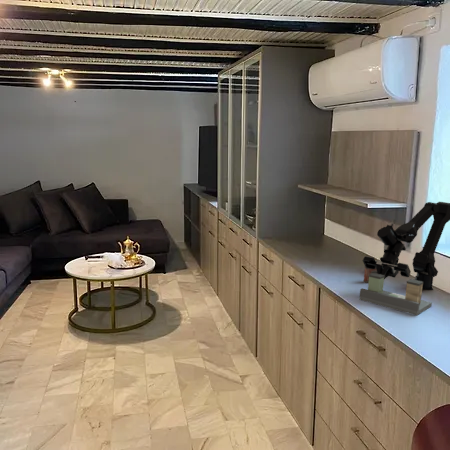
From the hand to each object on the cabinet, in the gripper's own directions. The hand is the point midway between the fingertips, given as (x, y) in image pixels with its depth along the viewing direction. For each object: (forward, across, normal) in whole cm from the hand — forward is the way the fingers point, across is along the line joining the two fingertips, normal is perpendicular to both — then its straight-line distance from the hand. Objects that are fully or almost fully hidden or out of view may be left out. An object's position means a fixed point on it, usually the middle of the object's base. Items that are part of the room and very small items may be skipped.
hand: (378, 283), depth 188 cm
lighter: (-10, +13, -20) cm, 26 cm away
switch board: (+4, -7, -6) cm, 10 cm away
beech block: (+3, -14, -4) cm, 15 cm away
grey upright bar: (-24, +14, -34) cm, 44 cm away
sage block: (+5, 0, -2) cm, 5 cm away
